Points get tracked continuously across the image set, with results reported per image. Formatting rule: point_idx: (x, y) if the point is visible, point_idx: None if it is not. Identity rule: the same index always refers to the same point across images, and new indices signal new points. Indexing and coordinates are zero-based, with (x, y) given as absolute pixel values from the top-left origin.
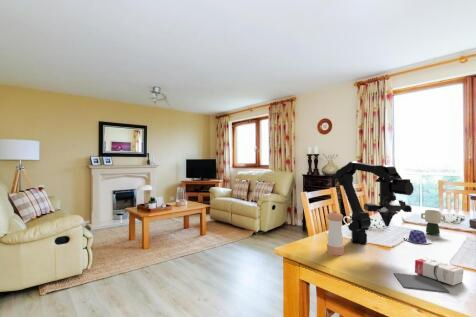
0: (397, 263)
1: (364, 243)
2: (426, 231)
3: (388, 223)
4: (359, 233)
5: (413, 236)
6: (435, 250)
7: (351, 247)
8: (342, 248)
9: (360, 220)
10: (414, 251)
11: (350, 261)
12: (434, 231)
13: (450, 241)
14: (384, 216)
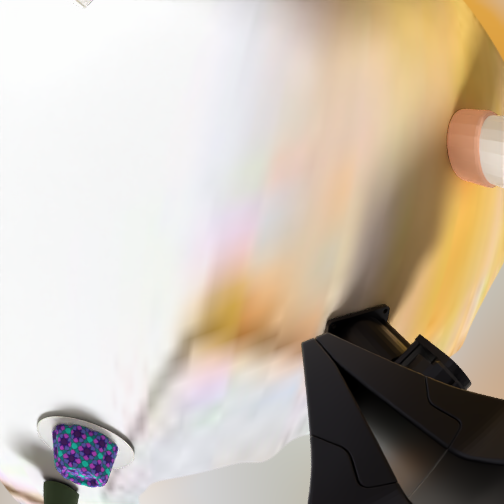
0: (214, 37)
1: (339, 319)
2: (75, 493)
3: (325, 367)
4: (390, 349)
5: (92, 452)
6: (5, 355)
7: (407, 239)
8: (474, 120)
9: (460, 386)
10: (75, 311)
11: (428, 43)
12: (52, 489)
13: (5, 443)
14: (489, 401)
